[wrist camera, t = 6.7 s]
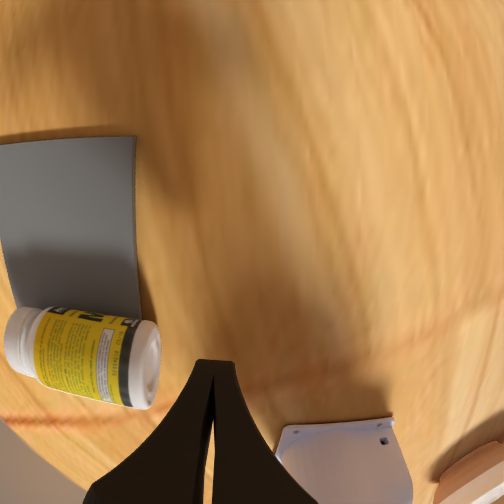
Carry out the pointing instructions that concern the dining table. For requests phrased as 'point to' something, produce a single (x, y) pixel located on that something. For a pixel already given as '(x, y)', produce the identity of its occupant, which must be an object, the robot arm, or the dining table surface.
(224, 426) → the robot arm
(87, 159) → the mat
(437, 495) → the bowl
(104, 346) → the supplement bottle
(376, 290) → the dining table surface
